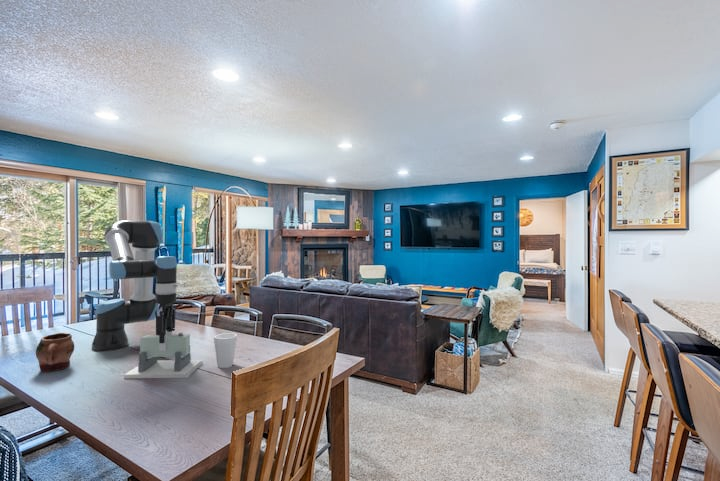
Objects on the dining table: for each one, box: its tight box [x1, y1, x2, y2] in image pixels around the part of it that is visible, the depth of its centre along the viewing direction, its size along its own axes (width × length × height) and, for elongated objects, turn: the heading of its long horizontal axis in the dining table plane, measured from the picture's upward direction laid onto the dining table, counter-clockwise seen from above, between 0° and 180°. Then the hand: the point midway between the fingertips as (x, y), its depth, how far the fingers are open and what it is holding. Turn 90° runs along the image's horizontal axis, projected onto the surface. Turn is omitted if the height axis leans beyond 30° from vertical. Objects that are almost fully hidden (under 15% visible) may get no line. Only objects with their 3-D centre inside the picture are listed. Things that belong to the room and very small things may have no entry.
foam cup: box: [213, 332, 238, 369], centre depth 153 cm, size 10×9×13 cm
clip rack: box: [123, 351, 203, 379], centre depth 147 cm, size 16×24×9 cm, turn 94°
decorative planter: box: [35, 332, 75, 373], centre depth 146 cm, size 20×12×14 cm, turn 36°
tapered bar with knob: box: [139, 332, 191, 358], centre depth 146 cm, size 4×18×9 cm, turn 97°
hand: (165, 348), depth 147 cm, fingers closed on tapered bar with knob, 4 cm apart
